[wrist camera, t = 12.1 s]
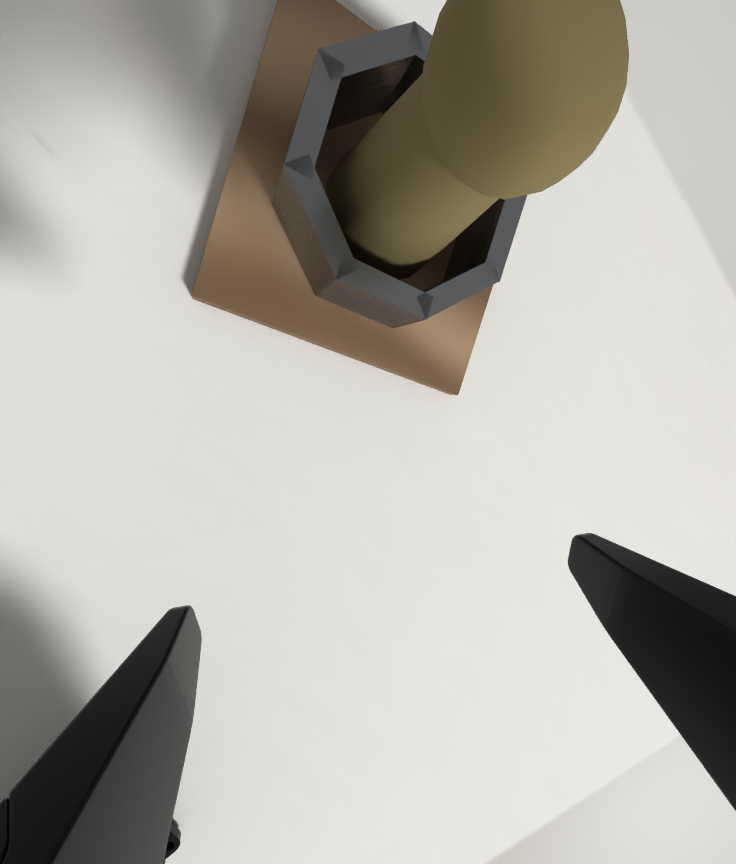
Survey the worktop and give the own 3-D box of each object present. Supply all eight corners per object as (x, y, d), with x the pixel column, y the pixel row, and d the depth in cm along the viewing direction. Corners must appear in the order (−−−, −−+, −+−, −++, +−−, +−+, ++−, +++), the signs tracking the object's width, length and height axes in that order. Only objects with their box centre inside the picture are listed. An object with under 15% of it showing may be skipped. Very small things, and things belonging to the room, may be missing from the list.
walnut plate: (450, 394, 22) (458, 395, 22) (192, 298, 17) (191, 295, 16) (525, 157, 22) (535, 149, 21) (285, -17, 17) (288, -35, 16)
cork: (301, 235, 17) (412, 40, 7) (358, 116, 18) (545, -236, 7) (407, 305, 20) (605, 232, 10) (457, 200, 20) (704, 17, 10)
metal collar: (439, 348, 21) (480, 344, 18) (252, 269, 17) (259, 244, 14) (497, 166, 20) (549, 126, 17) (319, 43, 17) (343, -36, 13)
